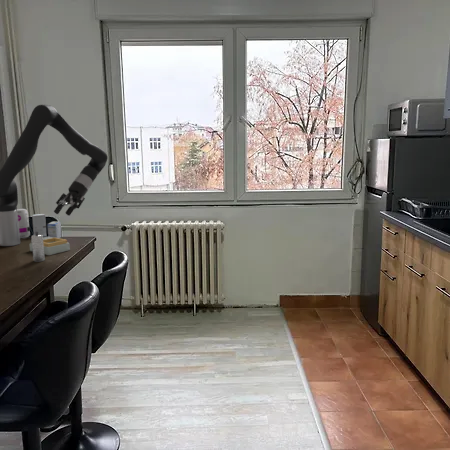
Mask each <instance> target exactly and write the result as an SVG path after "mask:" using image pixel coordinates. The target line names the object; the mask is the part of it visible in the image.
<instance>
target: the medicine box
mask: <svg viewBox="0 0 450 450" xmlns="http://www.w3.org/2000/svg"><path fill="white" fill-rule="evenodd" d="M46 227H47V234H48V236H47V237H53V238H60V239H61V238H62V224H61V221H51V222H49V223H47V224H46Z"/></svg>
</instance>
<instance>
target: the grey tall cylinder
mask: <svg viewBox="0 0 450 450" xmlns="http://www.w3.org/2000/svg"><path fill="white" fill-rule="evenodd" d="M30 236H31V240H32V248H33V251H32V256H33V257H32V259H33V262H35V263H39V262H45V260H46V258H45V257H46V254H44V244H43V238H44V237H43V235H41V234H38V232H35V235H34V234H33V235H30Z"/></svg>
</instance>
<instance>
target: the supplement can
mask: <svg viewBox="0 0 450 450" xmlns="http://www.w3.org/2000/svg"><path fill="white" fill-rule="evenodd" d="M17 214H18V223H19V233H20V239H25V238H29V237H30V236H31V232H30V222H29V221H30V220H29V212H28V210H27V209H26V208H17Z"/></svg>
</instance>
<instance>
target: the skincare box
mask: <svg viewBox="0 0 450 450" xmlns="http://www.w3.org/2000/svg"><path fill="white" fill-rule="evenodd" d="M31 218H32V219H31V220H32V228H33V229H32V230H33V235H35V232H38V234H41V235H43V238H44V237H48V236H47V234H48V233H47V223H46V214H45V213H40V214H39V213H37V214H32V215H31Z"/></svg>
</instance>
